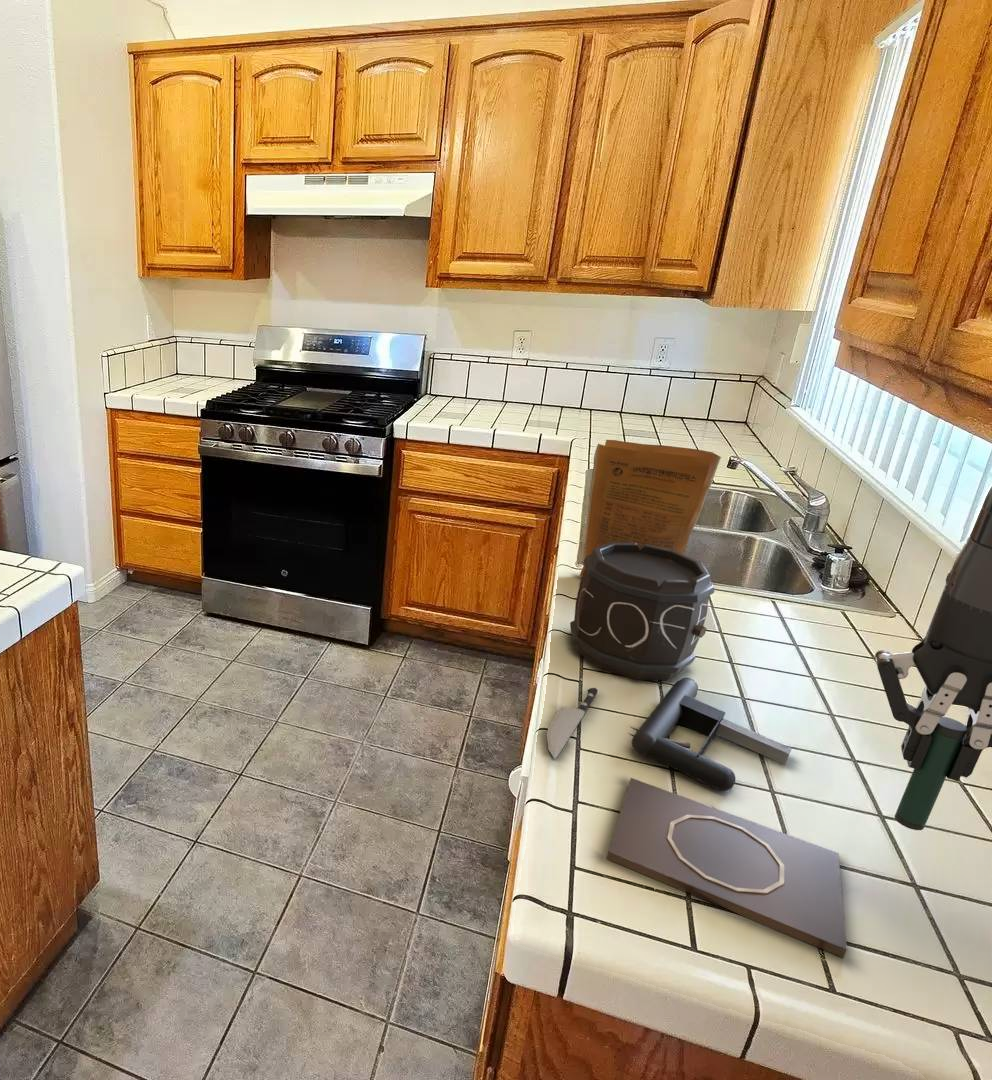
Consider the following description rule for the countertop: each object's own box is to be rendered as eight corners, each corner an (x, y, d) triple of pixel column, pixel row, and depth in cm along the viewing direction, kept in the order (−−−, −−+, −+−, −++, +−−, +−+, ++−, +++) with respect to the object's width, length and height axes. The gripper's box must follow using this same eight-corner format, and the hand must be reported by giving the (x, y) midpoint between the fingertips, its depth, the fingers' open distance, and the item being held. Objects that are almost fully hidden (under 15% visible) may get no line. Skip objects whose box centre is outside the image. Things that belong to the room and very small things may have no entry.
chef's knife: (530, 752, 93) (554, 761, 91) (531, 744, 92) (556, 753, 91) (576, 687, 107) (598, 693, 105) (577, 680, 107) (599, 686, 105)
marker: (922, 820, 71) (965, 721, 67) (926, 834, 69) (970, 734, 65) (892, 810, 72) (932, 713, 68) (895, 824, 70) (936, 725, 66)
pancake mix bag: (678, 610, 132) (720, 456, 122) (566, 582, 142) (597, 436, 131) (683, 597, 137) (723, 448, 127) (575, 570, 147) (604, 430, 137)
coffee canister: (660, 700, 105) (688, 599, 99) (545, 647, 118) (564, 554, 112) (714, 662, 116) (742, 568, 110) (604, 617, 128) (624, 531, 123)
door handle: (802, 723, 97) (671, 669, 106) (770, 799, 83) (622, 728, 93) (793, 744, 98) (664, 688, 108) (759, 821, 84) (615, 750, 94)
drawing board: (835, 860, 78) (839, 852, 78) (843, 958, 67) (847, 949, 67) (628, 784, 88) (631, 776, 87) (606, 858, 77) (608, 850, 76)
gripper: (904, 592, 63) (841, 763, 69) (1138, 639, 56) (1045, 824, 62) (894, 564, 69) (837, 724, 75) (1104, 603, 62) (1022, 776, 68)
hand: (931, 769), depth 69 cm, fingers closed on marker, 2 cm apart
